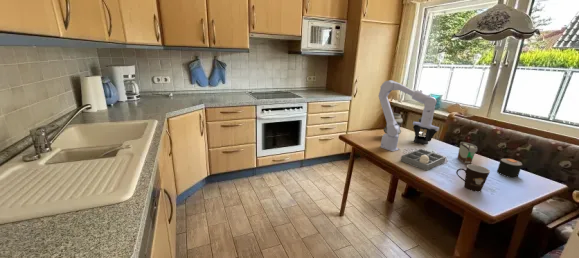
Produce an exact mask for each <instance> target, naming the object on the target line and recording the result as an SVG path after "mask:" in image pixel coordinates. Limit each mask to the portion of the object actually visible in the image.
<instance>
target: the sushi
mask: <svg viewBox="0 0 579 258" xmlns="http://www.w3.org/2000/svg"><path fill="white" fill-rule="evenodd" d="M522 166H523V163H522V162H521V161H520V160H515V159H513V158H501V159H500V160H499V163H498V168H497V171H496V172H497V173H498V172H499V173H498V174H500V173H501V174H500V175H502V174H503V175H502V176H504V175H505V176H504V177H507V176H508V177H507V178H518V177H519V175H520V172H521V169H522Z"/></svg>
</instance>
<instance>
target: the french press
mask: <svg viewBox="0 0 579 258" xmlns="http://www.w3.org/2000/svg"><path fill="white" fill-rule="evenodd" d="M421 119H422V117H418V122H420V123H421ZM432 122H434V121H433V120H432ZM421 130H422V131H421ZM425 130H426V132H424V131H425ZM429 130H431V129H428V128H424V127H421V128H420V131H419V136H418V137H417V138H415V137H414V138H413V142H414V143H416V144H420V145H428V144H429V141H428V138H429Z"/></svg>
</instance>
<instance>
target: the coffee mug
mask: <svg viewBox="0 0 579 258" xmlns="http://www.w3.org/2000/svg"><path fill="white" fill-rule="evenodd" d="M459 171H464V173H465V177H464V178H463V177H461V176H460V174H459ZM490 172H491V171H490V169H488V168H486V167H485V166H482V165H477V164H472V163H471V164H466V169H464V168H458V169H457V170H456V171H455V173H456V176H458V177H459V178H460V179H461V180H462V181H463V182H464V188H466V189H467V190H469V191H471V190H472V192H475V191H477V192H478V193H479V191H480V192H481V191H482V189H483V187H484V185H485V183H486V182H487V179H488V176H489V174H490ZM477 192H476V193H477Z"/></svg>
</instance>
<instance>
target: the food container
mask: <svg viewBox="0 0 579 258" xmlns="http://www.w3.org/2000/svg"><path fill="white" fill-rule="evenodd" d="M477 152H478V146H476V145H475V144H472V143H469V142H465V141H460V143H459V149H458V154H457V159H458V160H459V161H461V162H462V163H463V164H464V165H470V164H471V165H472V162H473V159H474V156H475V153H477Z"/></svg>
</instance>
